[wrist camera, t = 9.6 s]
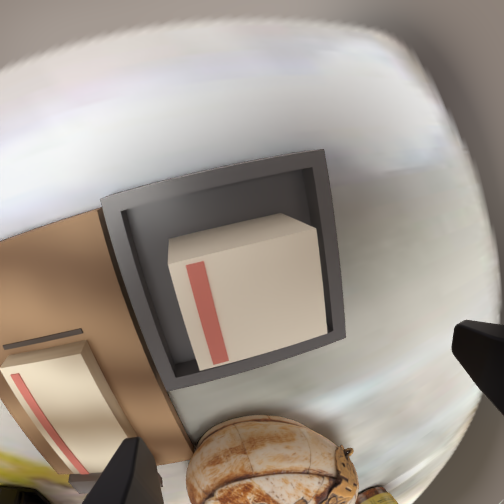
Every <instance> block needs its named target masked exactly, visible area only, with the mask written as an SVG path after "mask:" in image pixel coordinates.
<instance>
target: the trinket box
mask: <svg viewBox="0 0 504 504" xmlns="http://www.w3.org/2000/svg"><path fill="white" fill-rule="evenodd" d="M347 452H348V453H347ZM352 453H353V449H352V448H347V449H344V447H343V446H342V445H341V446H340V447H338V446H337V445H335V444H334V443H333V442H331V441H330V440H329V439H327V438H326V437H324V436H322V435H320V434H319V433H317V432H315V431H312V430H311V429H310V428H308V427H307V426H305V425H303V424H302V423H299V422H297V421H295V420H291V419H288V418H283V417H279V416H268V415H251V416H244V417H240V418H235V419H231V420H228V421H225V422H222V423H220V424H218V425H216V426H214V427H213V428H211V429H210V430H208V431H207V432H206V433H205V434H204V435H203V436H202V438H201V439H200V440H199V442H198V445H197V448H196V451H195V452H194V454H193V456H192V457H191V460H190V462H189V465H188V468H187V473H186V486H187V492H188V496H189V499H190V501H191V503H192V504H355V502H356V499H357V496H358V489H359V482H358V476H357V472H356V470H355V467H354V465H353V463H352V462H351V460H350V458H349V456H351V455H352Z"/></svg>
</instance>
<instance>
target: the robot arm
mask: <svg viewBox="0 0 504 504" xmlns="http://www.w3.org/2000/svg"><path fill="white" fill-rule="evenodd" d="M452 353H453V355H454V356H455V357H456V359H457V360H458V361H459V362H460V364H461V365H462V366H463V368H464V369H465V370H466V372H467V373H468V374H469V376H470V377H471V378H472V380H473V381H474V383H475V384H476V385H477V386H478V388H479V389H480V390H481V391H482V392H483V393H484V394H485V395H486V397H487V398H488V399H489V400H490V401H491V402H492V403H493V404H494V406H495V407H496V408H497V409H498V410H499V411H500V412H501V413H502V415H503V416H504V325H500V324H493V323H486V322H478V321H472V320H464V321H462V322H460V323H459V324H457V325H456V326H455V328H454V333H453V340H452ZM0 504H50V503H49V502H48V501H47V500H46V499H45V498H44V497H43V496H42V495H41V494H40V493H39V492H38V491H36V490H34V489H23V488H12V487H2V486H0ZM82 504H164V502H163V497H162V492H161V487H160V482H159V477H158V472H157V466H156V462H155V459H154V456H153V455H152V453H151V452H150V450H149V448H148V447H147V445H146V444H145V442H144V441H143V439H142V438H141V437H138V436H137V437H131V438H126V439H124V440H123V441H122V443H121V444H120V446H119V447H118V449H117V450H116V452H115V453H114V455H113V456H112V458H111V460H110V461H109V463H108V464H107V466H106V467H105V469H104V470H103V472H102V473H101V475H100V476H99V478H98V479H97V481H96V482H95V484H94V486H93V487H92V489H91V490H90V492H89V493H88V495H87V496H86V498H85V499H84V501H83V502H82Z"/></svg>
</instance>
